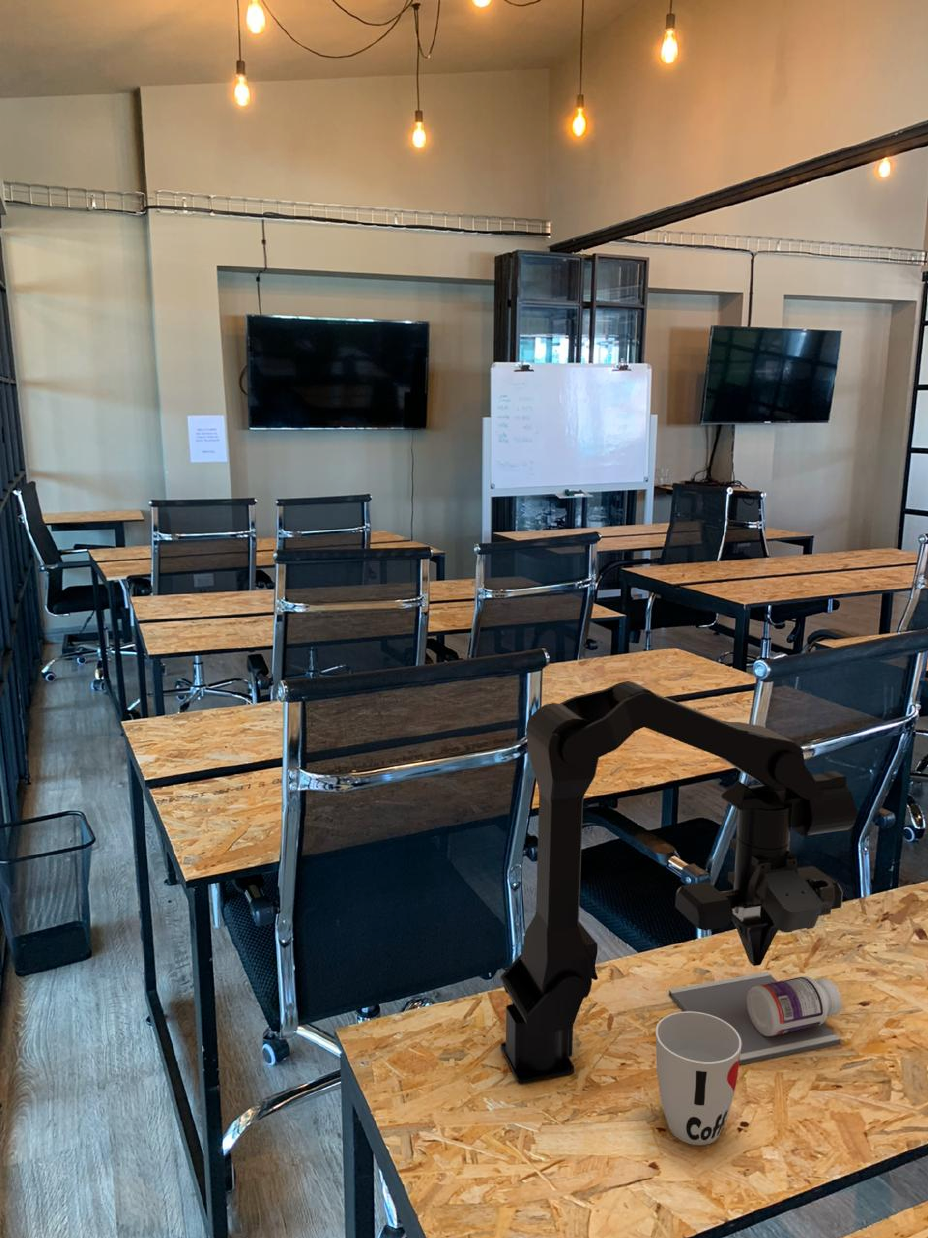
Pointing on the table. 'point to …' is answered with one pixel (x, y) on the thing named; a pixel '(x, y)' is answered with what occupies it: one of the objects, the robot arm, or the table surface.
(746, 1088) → the table surface
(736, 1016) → the mat
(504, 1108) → the table surface
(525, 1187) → the table surface
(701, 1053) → the cup
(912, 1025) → the table surface
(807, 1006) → the pill bottle
